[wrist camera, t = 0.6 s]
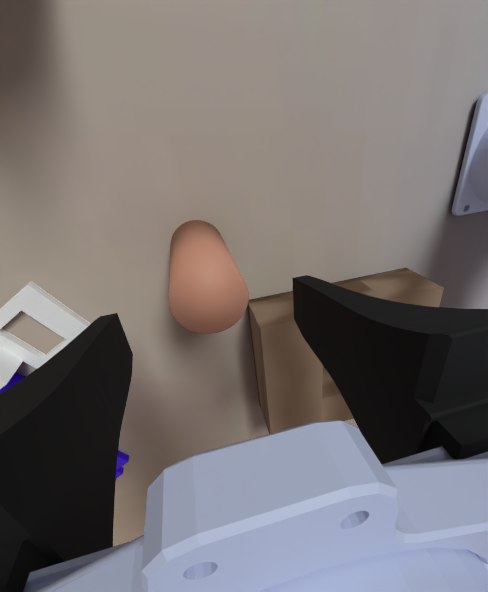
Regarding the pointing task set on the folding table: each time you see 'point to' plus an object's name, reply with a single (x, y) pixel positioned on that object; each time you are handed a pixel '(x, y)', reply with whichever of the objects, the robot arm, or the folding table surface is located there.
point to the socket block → (302, 360)
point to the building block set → (13, 351)
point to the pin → (204, 280)
